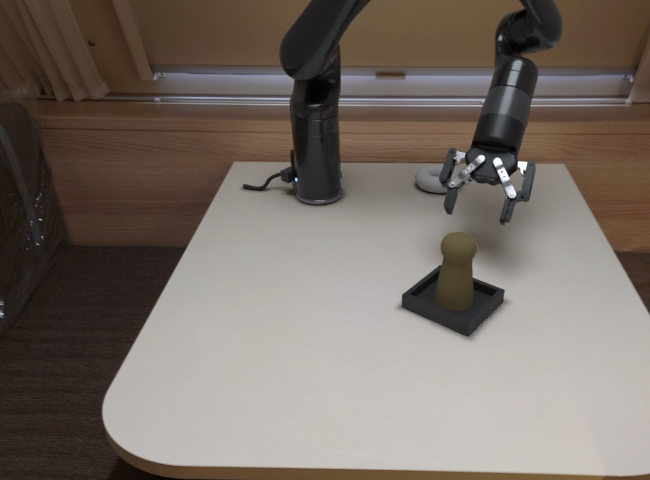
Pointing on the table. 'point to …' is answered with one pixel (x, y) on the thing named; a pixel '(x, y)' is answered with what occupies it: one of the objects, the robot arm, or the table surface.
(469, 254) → the brown pawn piece
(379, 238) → the table surface
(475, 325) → the tray
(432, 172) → the donut
